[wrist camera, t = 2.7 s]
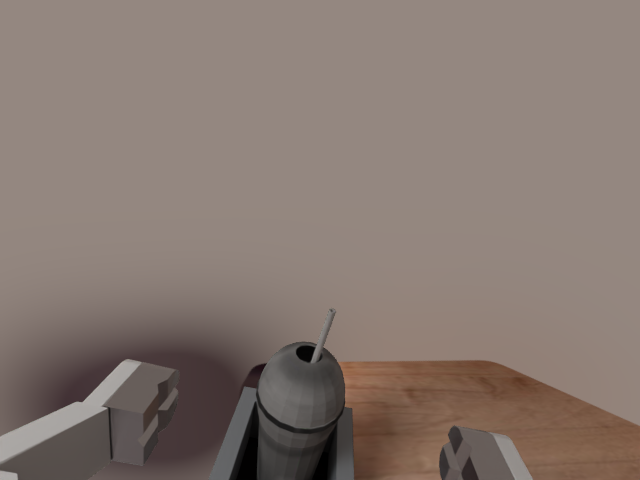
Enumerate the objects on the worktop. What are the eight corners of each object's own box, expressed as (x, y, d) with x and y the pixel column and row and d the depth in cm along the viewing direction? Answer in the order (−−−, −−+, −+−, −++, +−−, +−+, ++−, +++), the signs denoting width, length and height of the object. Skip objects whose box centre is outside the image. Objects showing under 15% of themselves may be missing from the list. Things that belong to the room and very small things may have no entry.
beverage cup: (283, 436, 35) (316, 271, 28) (335, 490, 30) (388, 311, 24) (225, 484, 29) (248, 293, 22) (277, 558, 25) (325, 350, 18)
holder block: (193, 551, 24) (196, 509, 23) (240, 421, 35) (244, 386, 34) (341, 582, 24) (355, 542, 23) (342, 442, 35) (352, 408, 33)
